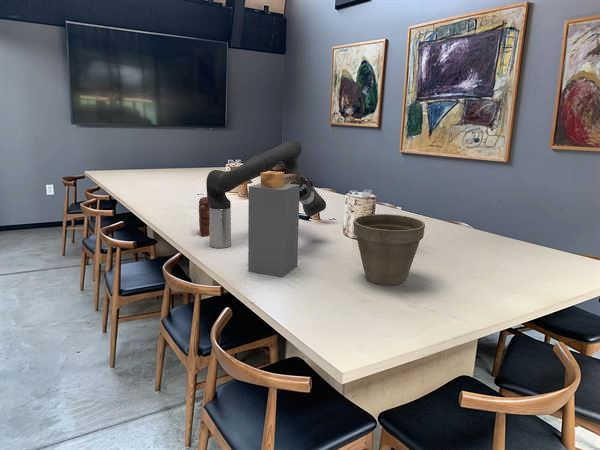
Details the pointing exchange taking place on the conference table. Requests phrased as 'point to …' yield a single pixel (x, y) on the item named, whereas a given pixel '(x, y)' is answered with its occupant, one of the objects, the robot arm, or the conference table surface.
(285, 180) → the mallet
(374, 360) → the conference table surface
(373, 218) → the plant pot
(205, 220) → the wooden figurine
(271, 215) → the pedestal
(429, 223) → the conference table surface
